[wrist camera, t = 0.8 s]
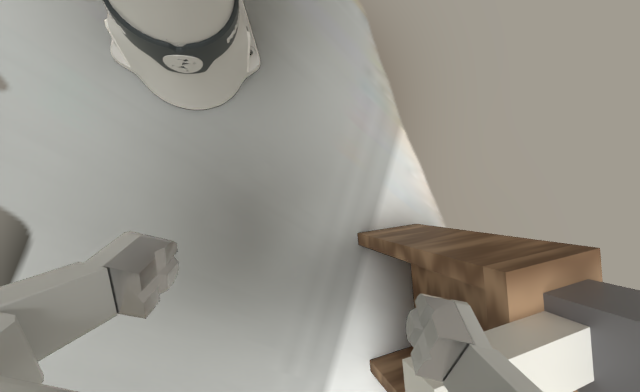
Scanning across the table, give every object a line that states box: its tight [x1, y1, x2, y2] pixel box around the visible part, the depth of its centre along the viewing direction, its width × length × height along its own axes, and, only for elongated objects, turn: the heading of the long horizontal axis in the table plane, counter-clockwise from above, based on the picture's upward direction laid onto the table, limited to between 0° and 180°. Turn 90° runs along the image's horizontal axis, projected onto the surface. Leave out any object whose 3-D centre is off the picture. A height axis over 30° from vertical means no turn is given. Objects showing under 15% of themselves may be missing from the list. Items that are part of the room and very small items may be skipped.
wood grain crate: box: [358, 224, 602, 392], centre depth 36 cm, size 24×12×26 cm, turn 6°
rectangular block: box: [402, 279, 640, 392], centre depth 18 cm, size 7×20×6 cm, turn 96°
